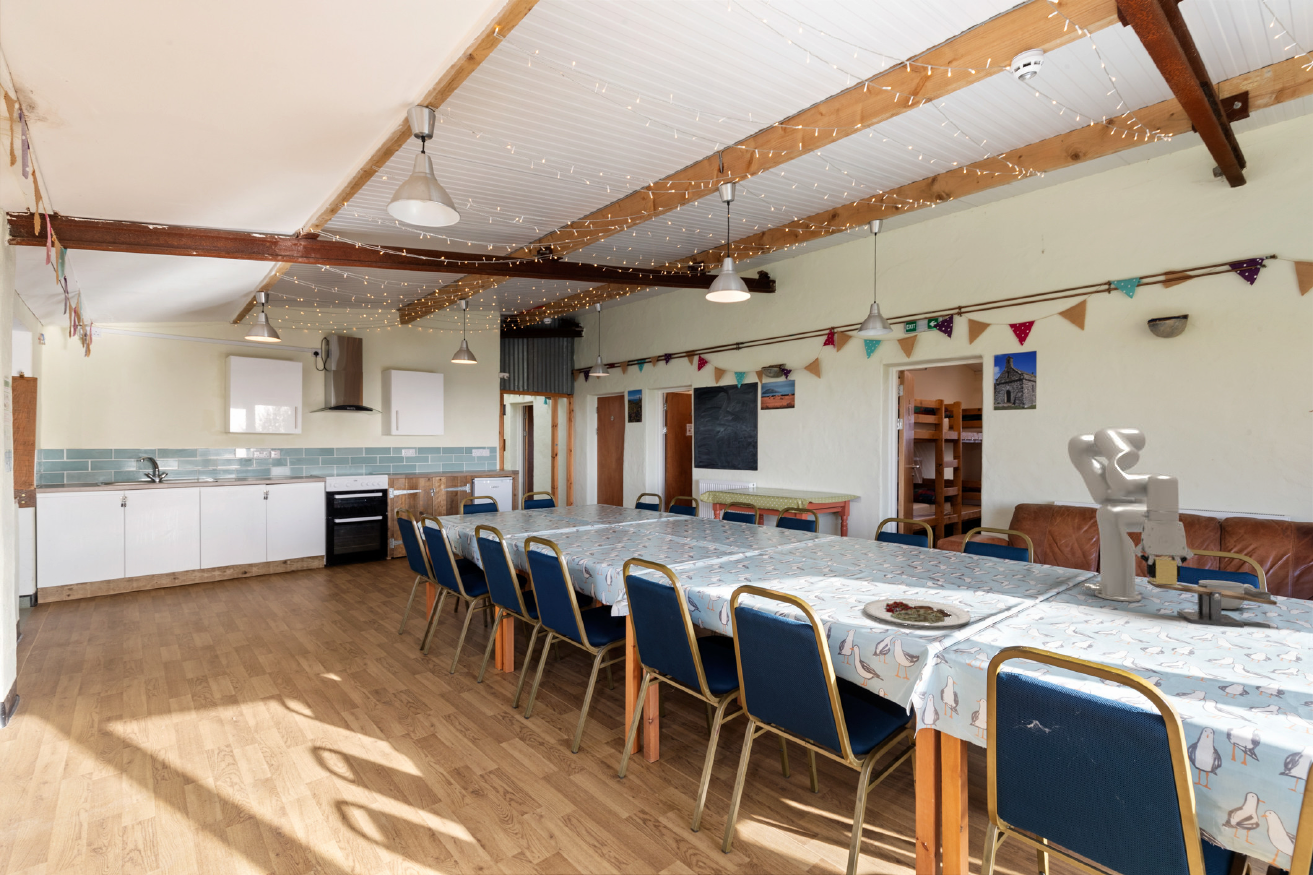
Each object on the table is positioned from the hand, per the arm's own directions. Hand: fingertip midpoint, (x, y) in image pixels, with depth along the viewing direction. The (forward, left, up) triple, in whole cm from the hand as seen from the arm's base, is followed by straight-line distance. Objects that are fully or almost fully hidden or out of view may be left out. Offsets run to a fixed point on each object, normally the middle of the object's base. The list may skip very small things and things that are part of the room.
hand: (1163, 577), depth 192 cm
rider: (0, 0, -2) cm, 2 cm away
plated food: (-69, -23, -12) cm, 74 cm away
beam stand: (+11, 0, -12) cm, 16 cm away
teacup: (+23, +20, -12) cm, 33 cm away
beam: (+11, 0, -4) cm, 12 cm away
